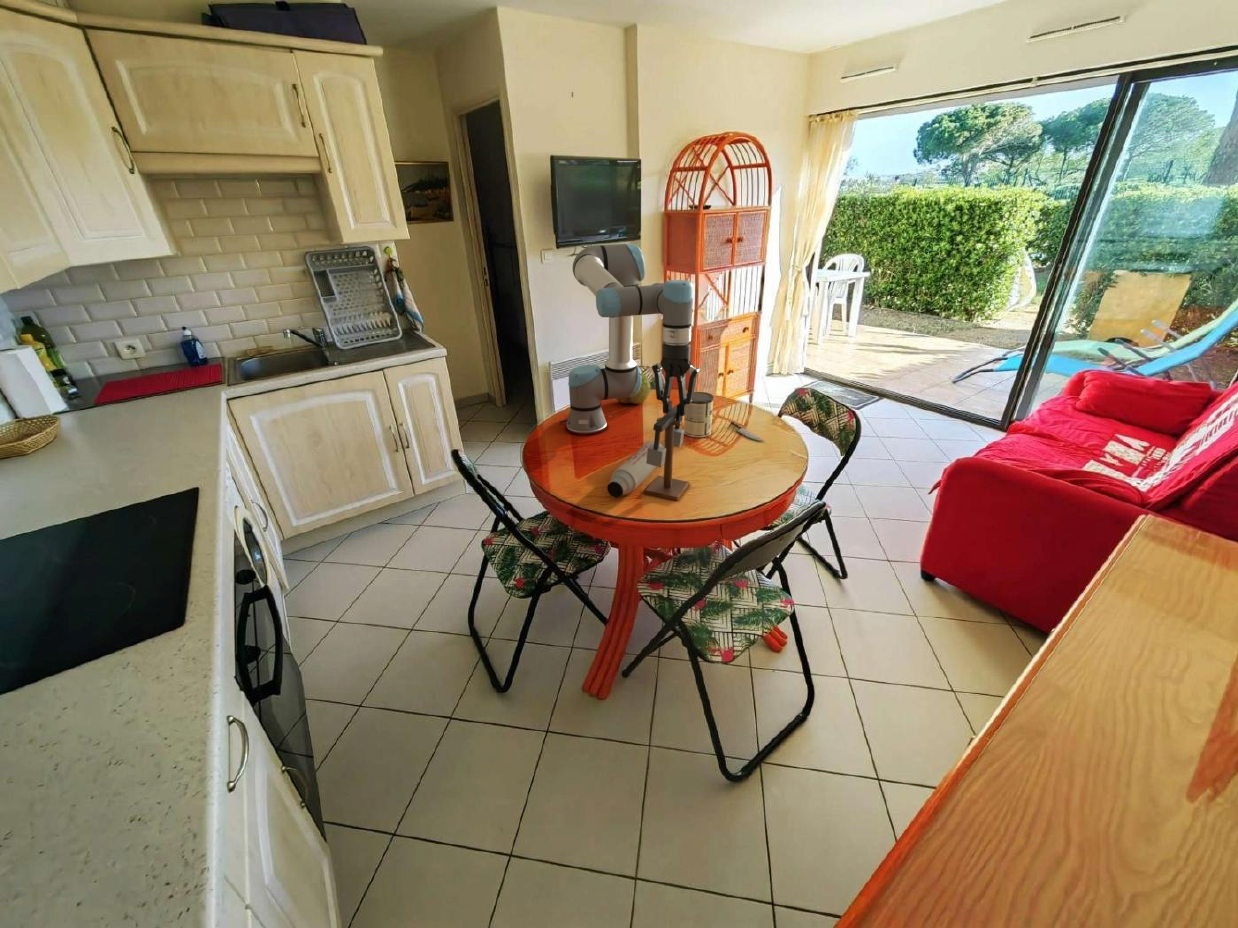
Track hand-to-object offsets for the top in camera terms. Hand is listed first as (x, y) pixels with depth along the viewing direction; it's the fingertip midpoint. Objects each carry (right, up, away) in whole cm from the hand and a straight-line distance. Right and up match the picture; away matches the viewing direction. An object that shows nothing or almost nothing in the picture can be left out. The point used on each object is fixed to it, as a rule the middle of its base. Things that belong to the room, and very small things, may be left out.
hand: (673, 424), depth 145 cm
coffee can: (+14, 0, +44) cm, 46 cm away
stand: (-1, -19, +6) cm, 20 cm away
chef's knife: (+31, 0, +43) cm, 52 cm away
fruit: (-10, +15, +75) cm, 77 cm away
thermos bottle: (-4, -7, +20) cm, 22 cm away
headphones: (-2, -8, +1) cm, 9 cm away
